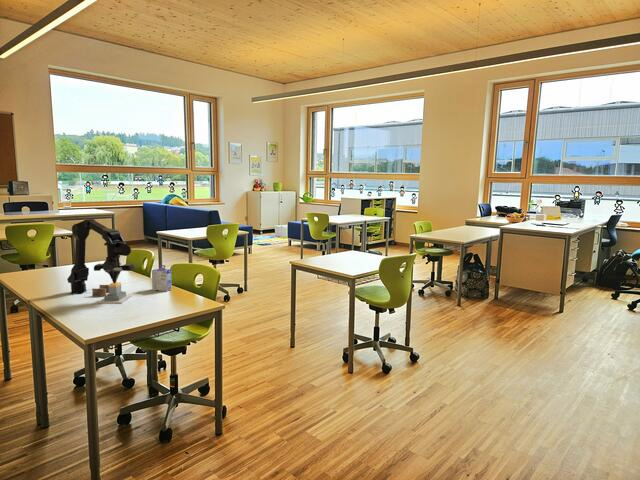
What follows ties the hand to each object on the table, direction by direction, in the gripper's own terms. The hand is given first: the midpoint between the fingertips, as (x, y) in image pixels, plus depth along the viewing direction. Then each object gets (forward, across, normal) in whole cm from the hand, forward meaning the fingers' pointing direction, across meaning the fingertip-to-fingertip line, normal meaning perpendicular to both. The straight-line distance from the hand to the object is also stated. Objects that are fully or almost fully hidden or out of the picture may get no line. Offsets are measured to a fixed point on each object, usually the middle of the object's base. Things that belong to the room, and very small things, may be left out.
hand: (114, 283), depth 234 cm
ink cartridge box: (+9, +18, +21) cm, 29 cm away
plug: (+8, 0, 0) cm, 8 cm away
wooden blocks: (+9, -12, +12) cm, 19 cm away
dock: (+9, 0, 0) cm, 9 cm away
